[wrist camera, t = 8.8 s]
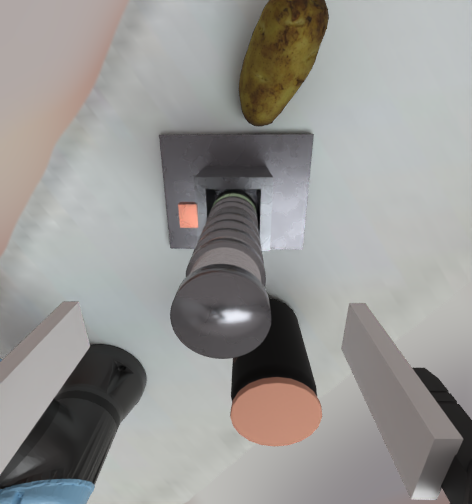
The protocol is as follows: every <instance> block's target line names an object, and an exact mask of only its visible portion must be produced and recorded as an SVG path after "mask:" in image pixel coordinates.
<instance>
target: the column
mask: <svg viewBox="0 0 472 504" xmlns="http://www.w3.org/2000/svg"><path fill="white" fill-rule="evenodd" d="M265 281H266V277H265V269H264V262H263V255H262V248H261V241H260V235H259V231H258V221H257V213H256V206H255V203H254V200H253V199H252V197H251V196H250V195H249V194H248V193H247V192H245V191H243V190H240V189H228V190H225V191H223V192H222V193H220V194H219V195H218V196H217V198H216V199H215V201H214V204H213V206H212V209H211V211H210V213H209V216H208V218H207V221H206V225H205V226H204V228H203V230H202V233H201V235H200V238H199V240H198V242H197V245H196V247H195V250H194V252H193V255H192V257H191V259H190V262H189V264H188V267H187V270H186V278H185V279H184V280H183V282H182V283H181V284H180V286H179V288H178V291H177V293H176V295H175V298H174V300H173V303H172V306H171V312H170V319H171V324H172V327H173V330H174V332H175V334H176V335H177V337H178V338H179V340H180V341H181V342H182V343H183V344H184V345H185V346H187V347H188V348H189V349H191V350H192V351H194V352H196V353H198V354H201V355H203V356H207V357H211V358H218V359H228V358H235V357H239V356H242V355H245V354H247V353H249V352H251V351H252V350H254V349H255V348H257V347H258V346H259V345H260V344H261V343H262V342H263V341H264V339H265V338H266V336H267V334H268V332H269V329H270V326H271V311H270V304H269V298H268V294H267V291H266V289H265Z"/></svg>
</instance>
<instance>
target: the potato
mask: <svg viewBox="0 0 472 504" xmlns="http://www.w3.org/2000/svg"><path fill="white" fill-rule="evenodd" d="M328 19H329V14H328V9H327V6H326V3H325V0H269V2H268V3H267V4H266V6H265V7H264V9H263V11H262V14H261V16H260V19H259V21H258V23H257V25H256V27H255V30H254V32H253V34H252V37H251V40H250V43H249V47H248V50H247V53H246V55H245V58H244V62H243V66H242V70H241V75H240V82H239V96H240V101H241V107H242V112H243V115H244V117H245V119H246V120H247V121H248V122H249V123H251V124H252V125H254V126H264V125H268V124H271V123H273V120H274V119H275V118H276V117H277V116H278V115H279V114H280V113H281V112H282V111H283V109H284V107H285V106H286V105H287V103H288V102H289V101H290V99H291V98H292V97H293V96H294V94H295V93H296V92H297V90H298V89H299V87H300V86H301V84H302V83H303V82H304V80H305V79H306V77H307V76H308V74H309V72H310V71H311V69H312V67H313V65H314V62H315V60H316V56H317V53H318V50H319V46H320V44H321V42H322V39H323V37H324V34H325V32H326V29H327V24H328Z"/></svg>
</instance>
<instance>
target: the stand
mask: <svg viewBox="0 0 472 504" xmlns="http://www.w3.org/2000/svg"><path fill="white" fill-rule="evenodd" d="M313 135H314V134H243V135H159V139H160V149H161V158H162V168H163V178H164V188H165V198H166V208H167V218H168V228H169V238H170V248H185V249H195V247H196V245H197V242H198V240H199V238H200V235H201V233H202V230H203V228H204V226H205V225H206V221H207V218H208V216H209V213H210V211H211V209H212V206H213V204H214V201H215V199H216V198H217V196H218V195H219V194H220V193H222V192H223V191H225V190H228V189H240V190H243V191H245V192H247V193H248V194H249V195H250V196H251V197H252V199H253V200H254V203H255V206H256V213H257V221H258V231H259V235H260V241H261V248H262V251H270V249H303V241H304V230H305V220H306V209H307V199H308V188H309V177H310V167H311V156H312V145H313Z"/></svg>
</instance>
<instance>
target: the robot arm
mask: <svg viewBox="0 0 472 504" xmlns="http://www.w3.org/2000/svg"><path fill="white" fill-rule="evenodd" d="M341 349H342V351H343V353H344V355H345V358H346V360H347V362H348V364H349V366H350V368H351V370H352V373H353V375H354V377H355V379H356V381H357V383H358V386H359V388H360V390H361V392H362V394H363V396H364V399H365V401H366V403H367V405H368V407H369V409H370V412H371V414H372V416H373V418H374V420H375V422H376V424H377V427H378V429H379V431H380V433H381V435H382V438H383V440H384V442H385V444H386V446H387V448H388V450H389V453H390V455H391V457H392V459H393V461H394V464H395V466H396V468H397V470H398V472H399V474H400V477H401V479H402V481H403V483H404V485H405V487H406V490H407V492H408V494H409V496H410V498H411V499H418V500H437V497H438V495H439V493H440V491H441V488H442V489H443V490H444V492H445V494H446V496H447V498H448V499H449V501H450V504H472V420H471V419H470V417H469V416H468V415H467V414H466V413H465V411H464V410H463V409H462V407H461V406H460V405H459V404H457V401H456V400H455V399H454V397H453V396H452V395H451V394H449V393H448V390H447V389H446V387H445V386H444V385H443V384H442V382H441V381H440V380H439V379H438V378H437V377H436V376H435V375H433V374H432V373H431V372H429V371H428V370H427V369H425V368H412V367H411V366H410V364H409V363H408V362H407V360H406V359H405V358H404V356H403V355H402V353H401V352H400V351H399V349H398V348H397V346H396V345H395V344H394V342H393V341H392V339H391V338H390V337H389V335H388V334H387V333H386V331H385V330H384V328H383V327H382V326H381V324H380V323H379V322H378V320H377V319H376V317H375V316H374V315H373V313H372V312H371V310H370V309H369V308H368V306H367V305H366V304H365V303H349V307H348V313H347V319H346V325H345V330H344V336H343V342H342V348H341ZM145 386H146V374H145V371H144V369H143V367H142V365H141V364H140V363H139V361H138V360H137V359H136V358H134V357H133V356H132V355H131V354H129V353H127V352H126V351H124V350H122V349H119V348H116V347H113V346H109V345H90V344H89V340H88V336H87V332H86V328H85V324H84V320H83V316H82V312H81V308H80V304H79V302H68V301H63V302H62V303H61V304H60V305H59V306H58V307H57V308H56V309H55V310H54V311H53V312H52V313H51V314H50V315H49V316H48V317H47V318H46V319H45V320H44V321H43V322H42V323H40V324H39V325H38V326H37V327H36V328H35V329H34V330H33V331H32V332H31V333H30V334H29V335H28V336H27V337H26V338H25V339H24V340H23V341H22V342H21V343H20V344H19V345H17V346H16V347H15V348H14V349H13V350H12V351H11V352H10V353H9V354H8V355H7V356H6V357H5V358H4V359H3V360H2V359H1V358H0V504H86V503H87V501H88V499H89V497H90V495H91V493H92V492H93V490H94V488H95V486H94V485H95V483H96V480H97V478H98V475H99V473H100V471H101V468H102V466H103V463H104V461H105V459H106V456H107V454H108V451H109V449H110V446H111V444H112V442H113V439H114V437H115V434H116V432H117V429H118V427H119V425H120V423H121V422H122V420H123V419H124V418H125V417H126V416H127V415H128V413H129V412H130V411H131V410H132V409H133V407H134V406H135V405H136V404H137V403H138V401H139V400H140V398H141V396H142V394H143V391H144V389H145Z"/></svg>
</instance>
